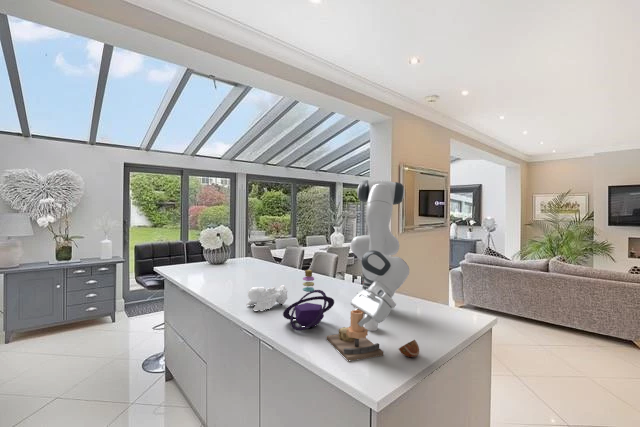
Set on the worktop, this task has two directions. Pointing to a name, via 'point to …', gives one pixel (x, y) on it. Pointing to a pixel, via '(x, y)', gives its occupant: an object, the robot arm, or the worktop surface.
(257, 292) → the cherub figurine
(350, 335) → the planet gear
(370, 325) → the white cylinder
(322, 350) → the worktop surface
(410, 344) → the fruit slice
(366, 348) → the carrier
